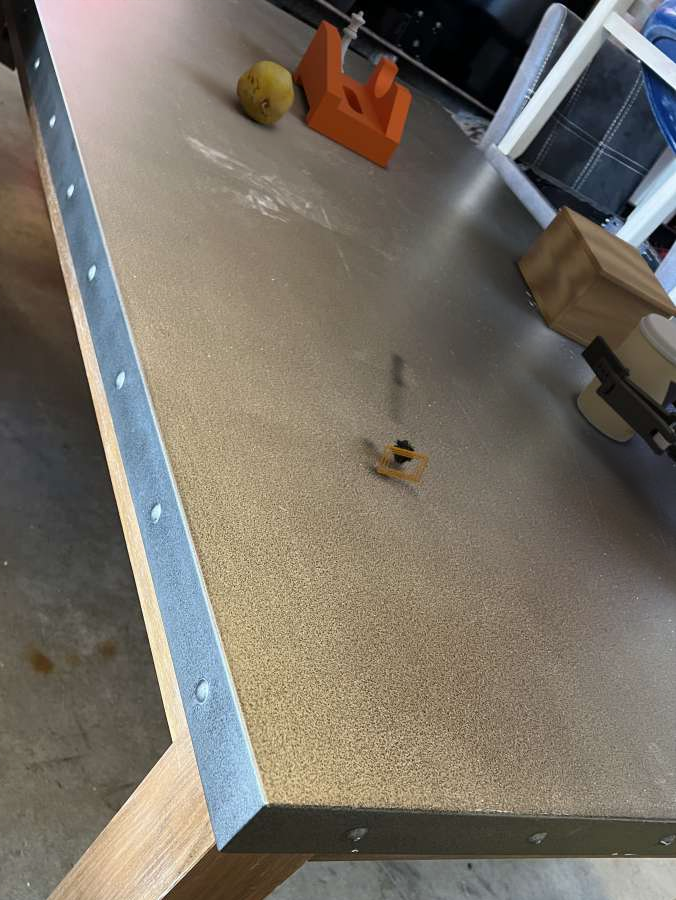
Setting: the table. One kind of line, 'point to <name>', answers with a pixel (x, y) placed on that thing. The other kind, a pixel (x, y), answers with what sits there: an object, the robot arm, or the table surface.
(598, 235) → the lid
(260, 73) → the fruit
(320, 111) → the tape dispenser
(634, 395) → the robot arm
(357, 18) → the chess piece
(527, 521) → the table surface
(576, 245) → the chest
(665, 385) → the coffee cup
